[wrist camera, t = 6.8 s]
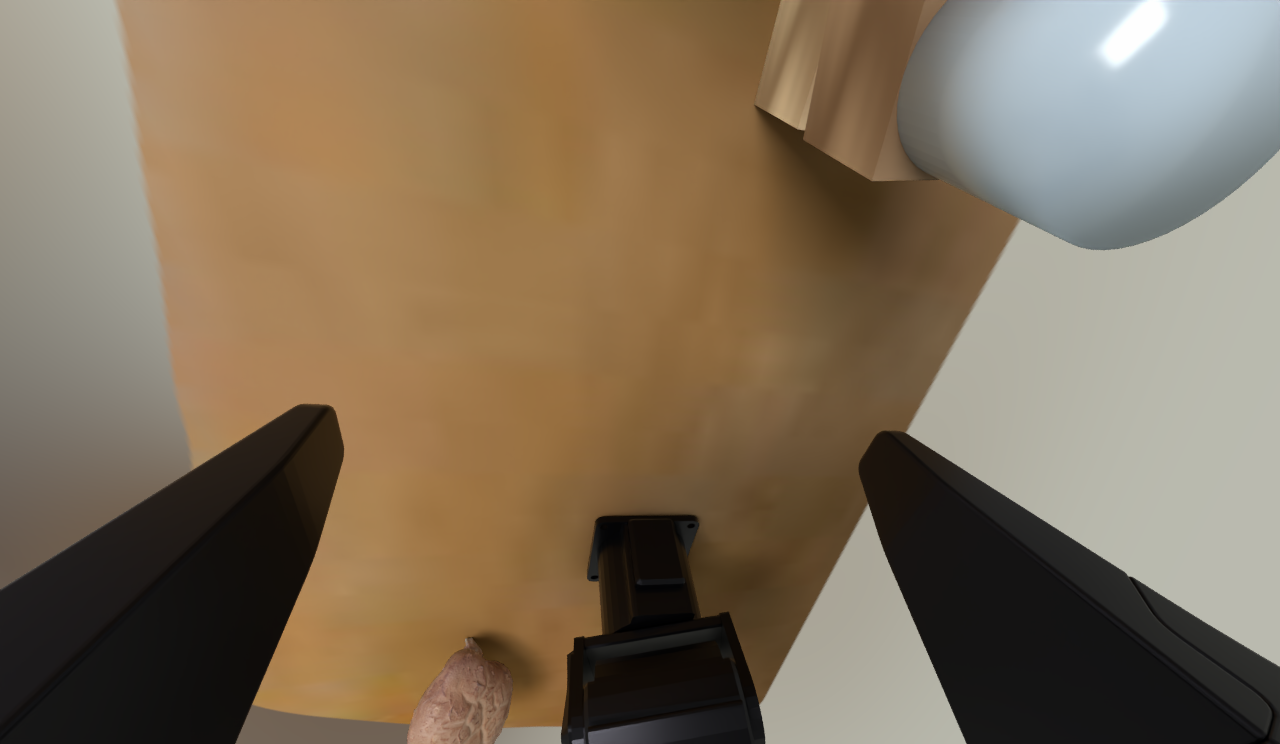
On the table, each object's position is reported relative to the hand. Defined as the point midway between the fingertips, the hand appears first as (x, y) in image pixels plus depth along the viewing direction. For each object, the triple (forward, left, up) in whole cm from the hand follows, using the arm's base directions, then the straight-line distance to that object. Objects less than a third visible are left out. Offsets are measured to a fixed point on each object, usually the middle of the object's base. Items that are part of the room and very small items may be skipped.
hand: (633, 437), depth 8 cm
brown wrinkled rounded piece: (-34, +6, -13) cm, 37 cm away
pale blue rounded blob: (+6, -7, -5) cm, 10 cm away
